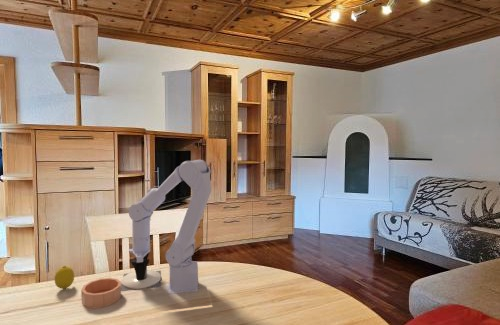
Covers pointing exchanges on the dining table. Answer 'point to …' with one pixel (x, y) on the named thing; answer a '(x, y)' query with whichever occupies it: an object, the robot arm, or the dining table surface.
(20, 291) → the dining table surface
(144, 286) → the lid
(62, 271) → the lemon
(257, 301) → the dining table surface
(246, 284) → the dining table surface
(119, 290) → the bowl
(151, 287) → the mat
